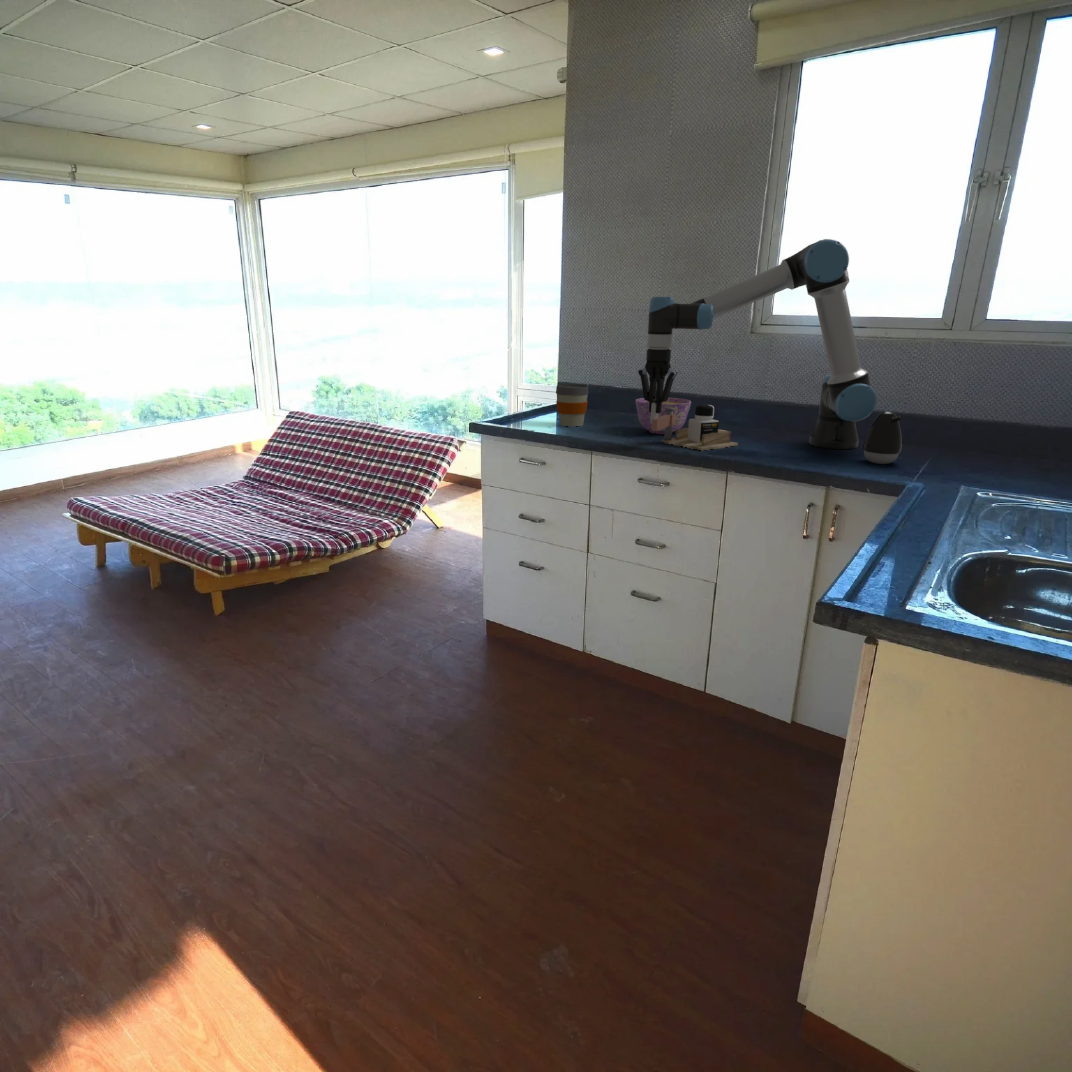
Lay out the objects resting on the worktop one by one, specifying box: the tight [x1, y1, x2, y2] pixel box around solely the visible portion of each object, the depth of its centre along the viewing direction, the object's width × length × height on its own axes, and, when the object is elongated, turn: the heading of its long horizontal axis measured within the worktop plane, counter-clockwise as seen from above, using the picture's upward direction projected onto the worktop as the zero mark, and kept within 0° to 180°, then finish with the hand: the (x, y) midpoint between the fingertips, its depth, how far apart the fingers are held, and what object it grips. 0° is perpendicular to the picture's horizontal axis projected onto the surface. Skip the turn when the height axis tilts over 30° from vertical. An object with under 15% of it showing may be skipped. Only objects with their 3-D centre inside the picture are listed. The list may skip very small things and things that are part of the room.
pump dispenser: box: [862, 410, 903, 465], centre depth 204 cm, size 10×10×15 cm
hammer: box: [652, 408, 676, 440], centre depth 228 cm, size 15×3×10 cm, turn 150°
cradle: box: [662, 427, 739, 452], centre depth 231 cm, size 18×17×4 cm
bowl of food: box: [635, 397, 692, 435], centre depth 252 cm, size 20×20×12 cm
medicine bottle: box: [687, 404, 720, 443], centre depth 230 cm, size 7×7×12 cm
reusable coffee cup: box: [555, 383, 590, 427], centre depth 265 cm, size 13×12×15 cm
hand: (654, 422), depth 225 cm, fingers closed
